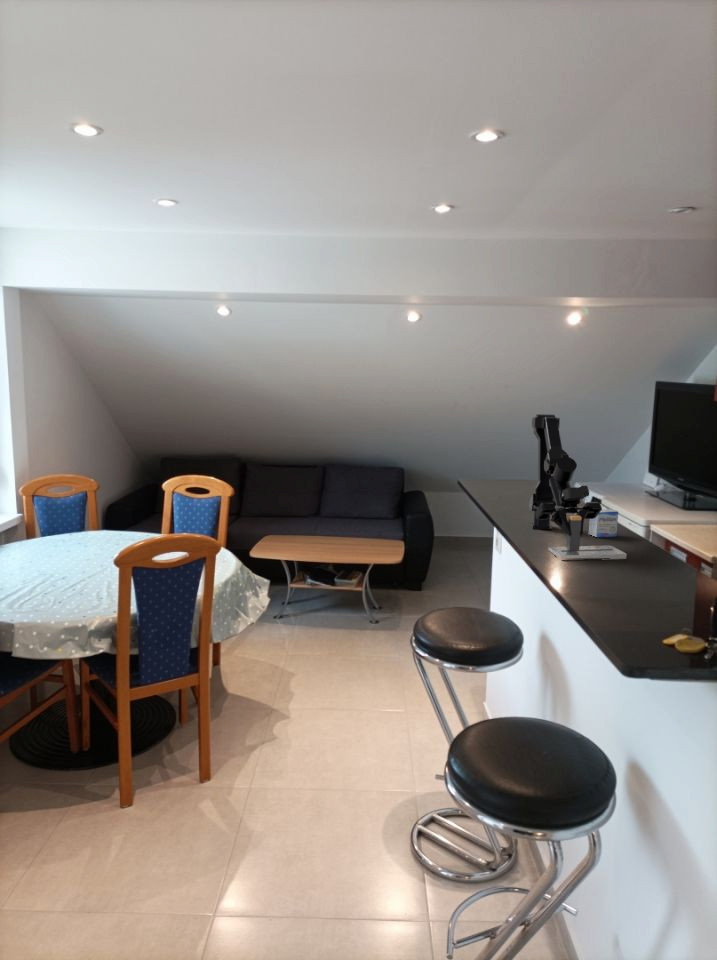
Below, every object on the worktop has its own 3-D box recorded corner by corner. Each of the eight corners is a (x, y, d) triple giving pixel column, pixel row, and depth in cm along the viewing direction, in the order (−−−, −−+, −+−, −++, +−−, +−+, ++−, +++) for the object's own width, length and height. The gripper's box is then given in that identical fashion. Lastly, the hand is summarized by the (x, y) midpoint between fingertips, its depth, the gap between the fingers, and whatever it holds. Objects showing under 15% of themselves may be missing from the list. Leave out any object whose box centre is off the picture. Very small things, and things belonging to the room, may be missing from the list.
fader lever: (569, 550, 191) (571, 517, 189) (566, 548, 193) (568, 515, 191) (579, 550, 191) (581, 516, 189) (576, 548, 193) (578, 515, 191)
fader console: (561, 560, 187) (561, 555, 187) (548, 551, 196) (548, 546, 196) (626, 558, 190) (626, 553, 189) (610, 550, 198) (611, 545, 198)
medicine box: (596, 538, 212) (598, 512, 211) (587, 535, 216) (589, 509, 215) (616, 537, 214) (618, 511, 213) (608, 533, 218) (610, 508, 217)
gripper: (541, 476, 191) (555, 521, 182) (601, 475, 193) (617, 520, 184) (529, 497, 200) (542, 541, 191) (587, 496, 202) (601, 539, 193)
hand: (575, 535), depth 190 cm, fingers closed on fader lever, 3 cm apart
